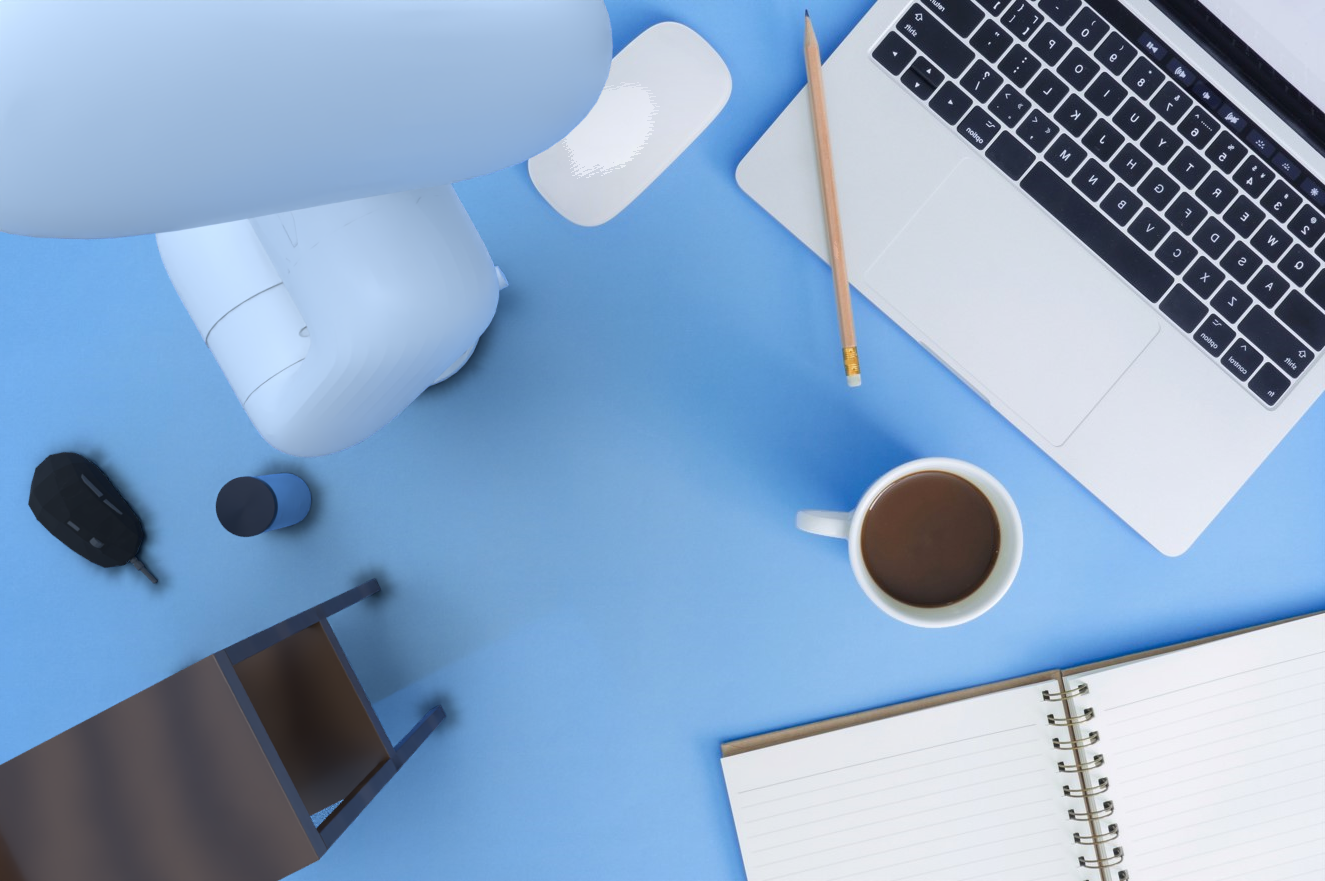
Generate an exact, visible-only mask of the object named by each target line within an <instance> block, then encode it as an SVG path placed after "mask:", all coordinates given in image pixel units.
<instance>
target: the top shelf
mask: <svg viewBox="0 0 1325 881" xmlns="http://www.w3.org/2000/svg"><path fill="white" fill-rule="evenodd" d="M316 828H317V826H316V825H315V823H314V822H313V819H312V816H310V815H309V814H308V812H307V810H306V808H305V806H304V804H303V802H302V800H301V798H300V796H299V794H298V792H297V790H296V788H295V786H294V784H293V783H292V781H291V779H290V777H289V775H288V773H287V771H286V769H285V767H284V765H283V763H282V761H281V759H280V757H279V755H278V753H277V752H276V750H275V748H274V746H273V744H272V742H271V740H270V738H269V736H268V734H267V732H266V730H265V728H264V726H263V724H262V722H261V721H260V719H259V717H258V715H257V713H256V711H255V709H254V707H253V705H252V703H251V701H250V699H249V697H248V695H247V693H246V692H245V690H244V688H243V686H242V684H241V682H240V680H239V678H238V676H237V674H236V672H235V670H234V668H233V666H232V664H231V662H230V661H229V659H228V657H227V655H226V653H225V651H224V648H222V649H220V650H218V651H215V652H214V653H211V654H210V655H207V656H206V657H204V658H202V659H200V660H198V661H196V662H194V663H192V664H191V665H188V666H187V667H184V668H183V669H180V670H179V671H176V672H174V673H173V674H171V675H169V676H167V677H166V678H163V679H162V680H160V681H158V682H156V683H154V684H152V685H150V686H148V687H146V688H145V689H142V690H140V691H139V692H137V693H135V694H132V695H131V696H129V697H127V698H125V699H124V700H121V701H119V702H118V703H116V704H114V705H112V706H110V707H108V708H106V709H104V710H102V711H100V712H98V713H96V714H95V715H93V716H91V717H89V718H87V719H85V720H83V721H81V722H79V723H77V724H76V725H73V726H72V727H69V728H67V729H66V730H64V731H62V732H60V733H59V734H56V735H54V736H52V737H51V738H49V739H46V740H45V741H43V742H41V743H39V744H37V745H35V746H33V747H32V748H30V749H28V750H25V751H24V752H22V753H20V754H18V755H15V756H14V757H13V758H11V759H9V760H7V761H5V762H2V763H1V764H0V881H280V880H282V879H284V878H287V877H289V876H291V875H293V874H295V873H297V872H299V871H301V870H302V869H305V868H306V867H309V866H311V865H313V864H315V863H317V862H318V861H320V860H321V859H322V858H323V857H324V856H325V854H326V853H327V852H328V850H327V848H326V846H325V844H324V843H323V841H322V839H321V837H320V835H319V833H318V831H317V829H316Z"/></svg>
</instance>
